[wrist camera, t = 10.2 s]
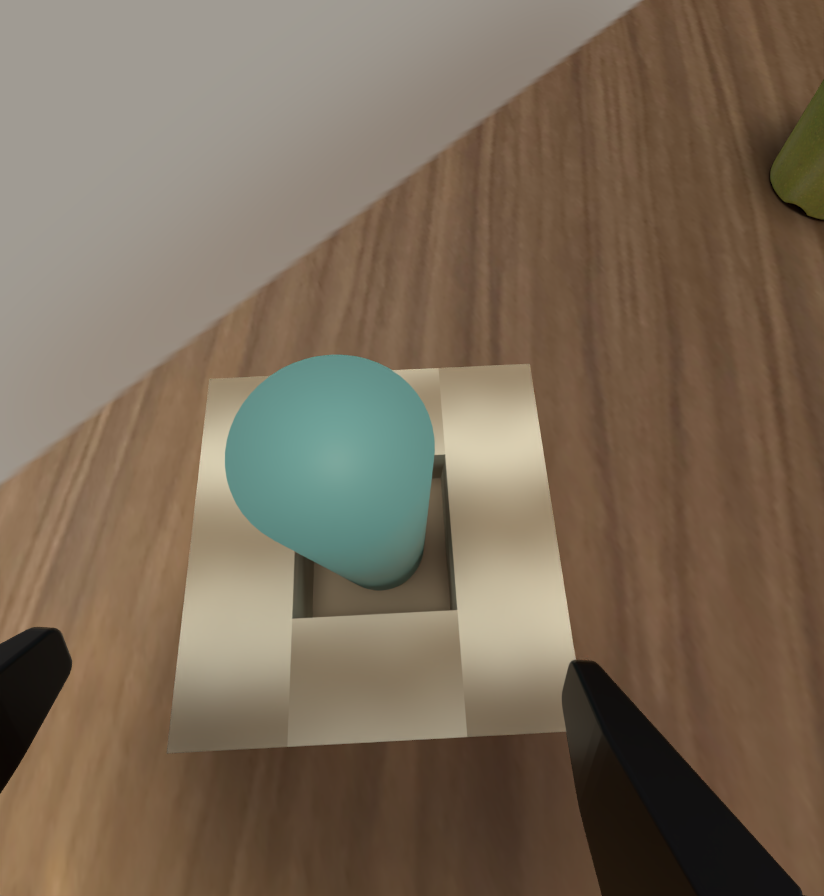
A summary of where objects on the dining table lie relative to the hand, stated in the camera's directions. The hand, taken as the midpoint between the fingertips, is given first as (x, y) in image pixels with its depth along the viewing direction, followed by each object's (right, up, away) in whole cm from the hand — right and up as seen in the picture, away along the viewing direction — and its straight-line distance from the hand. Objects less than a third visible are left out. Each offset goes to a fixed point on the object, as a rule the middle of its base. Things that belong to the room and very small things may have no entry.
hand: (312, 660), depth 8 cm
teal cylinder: (0, -1, +13) cm, 13 cm away
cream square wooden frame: (0, -1, +13) cm, 13 cm away
